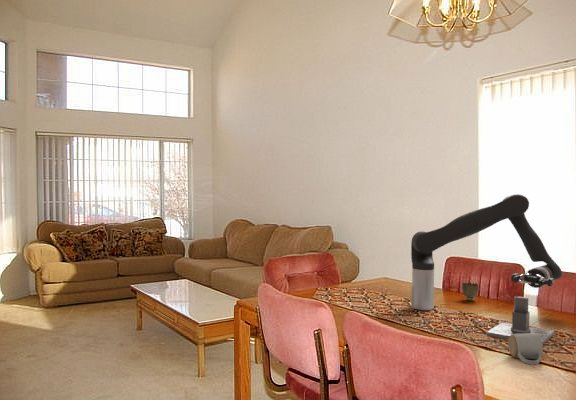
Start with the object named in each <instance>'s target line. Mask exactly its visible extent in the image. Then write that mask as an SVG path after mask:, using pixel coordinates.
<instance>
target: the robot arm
mask: <svg viewBox="0 0 576 400" xmlns="http://www.w3.org/2000/svg"><path fill="white" fill-rule="evenodd" d="M529 207H530V201H529V199H528V198H527V197H526V196H525V195H523V194H519V193H515V194H510V195H508V196H506V197H504V198H503V199H502V200H501V201H499V202H497V203H495V204H493V205H490V206H485V207H483V208H479V209H475V210H472V211H469V212H467V213H465V214H463V215H459V216H458V217H456V218H455V219H453V220H451V221H450V222H447V224H445V225H444V226H441V227H440V228H436V229H433V230H430V231H427V232H426V231H424V230H423V231H417V232H416V233H415V234H414V235H413V236H412V238H411V242H410V243H411V245H410V246H411V249H410V251H411V252H410V255H411V256H410V257H411V264H412V267H411V268H412V270H411V273H412V274H411V276H412V277H411V293H410V297H411V298H410V300H411V301H410V303H411V304H410V307H411V308H410V309H415V310H422V311H431V310H433V309H434V300H435V299H434V298H435V296H434V295H435V291H434V290H435V262H434V259H433V252H435V251H437V250H438V249H440V248H441V247H444V246H445V245H447V244H450V243H452V242H455V241H459V240H461V239H465V238H467V237H470V236H472V235H475V234H478V233H479V232H481V231H484V230H485V229H488V228H490V227H491V226H494V225H496V224H497V223H499V222H502V221H504V220H507V219H508V220H509V222H510V223H511V224H512V226H513V228H514V230H515V231H516V233H517V234H518V236H519V238H520V239H521V242H522V244H523V246H524V248H525V250H526V252H527V254H528V256H529V258H530V260H531V261H532V262H534V263H535V262H536V263H539V262H543V263H545V264H543V265H541V266H537V267H534V268H533V267H532V268H531V269H528V271H526V273H521V274H519V273H518V272H516V273H512V274H511V276H510V277H511V278H510V281H511V282H514V283H515V284H517V283H521V284H527V285H528V286H530V287H531V288H535V289H539V288H541V287H545V286H548V287H552V286H553V285H554V281H556V280H559V279H561V278H562V275H563V271H562V269H561V267H560V266H559V265H558V263H557V262H555V260H554V259H553V258H552V257H551V256H550V254H549V253H548V251H547V249H546V247H545V245H544V243H543V241H542V238H540V236H539V234H537V232H536V231H535V230H534V228H533V227H532V226H531V225H530V223H529V221H528V220H527V217H526V215H525V213H526V212H527V211H528V209H529Z"/></svg>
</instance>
